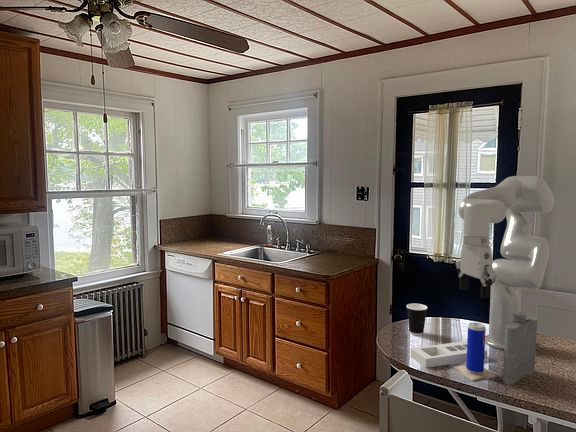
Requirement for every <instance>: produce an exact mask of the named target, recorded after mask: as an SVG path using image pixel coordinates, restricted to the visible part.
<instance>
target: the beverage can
mask: <svg viewBox="0 0 576 432" xmlns="http://www.w3.org/2000/svg"><path fill="white" fill-rule="evenodd" d="M486 331H487V328H486V326H485V324H483V323H481V322H469V323H468V326H467V340H466V341H467V362H465V365H466V368H467V370H468V371H469V372H471V373H476V374H480V373H482V372H483V371H484V368H485V359H484V356H485V349H486V343H485V336H486Z"/></svg>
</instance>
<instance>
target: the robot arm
mask: <svg viewBox="0 0 576 432" xmlns="http://www.w3.org/2000/svg"><path fill="white" fill-rule="evenodd" d="M554 207H555V196H554V193H553V192H552V189H551V188H550V186H549V184H548V183H547V181H546V180H545V179H544V178H542V177H541V176H537V175H513V176H508V177H506V178H505V179H503V180H502V181H500V183H498V184H497V185H496V186H494V187H493V186H492V187H489V188H486V189H481V190H477V191H475V192H471V193H470V194H468V195H467V196H466V197H464V198H463V199H462V201H461V202H460V204H459V207H458V214H459V217H460V219H462V221H463V235H462V236H463V238H462V239H463V240H462V242H463V243H462V245H461V252H460V260H459V261H456V262H455V266H456V272H457V274H458V278H459V290H460V291H464V290H466V291H467V290H469V288H470V277H473V278H475V279H479V281H480V282H481V284H482V285H481V286H480V298H481V299H482V300H483V299H484V300H485V299H490V301H489V303H490V304H489V305H490V306H489V323H488V324H489V325H488V334H487V335H485V345H488V346H491V347H493V348H496V349H500V350H504V347H505V326H506V325H507V324H508V323H510V322H512V321H514V316H513V314H514V313H520V312H519V310H520V309H519V308H520V297H519V295H518V293H517V290H516V289H515V288H519V289H524V290H531V291H535V290H538V289H540V288H541V286H542V283H543V280H544V277H545V273H546V269H547V266H548V265H547V264H548V262H549V257H550V250H551V249H550V244H549V241H548V240H547V239H546V238H544V237H541V236H536V235H535V236H534V235H531V233H532V229H533V226H532V223H531V222H530V220H529V219H528V217H527V216H525V214H523V213H533V214H534V213H535V214H547V213H550V212H552V210H553V208H554ZM505 218H506V228H505V231H504V234H503V237H502V241H501V244H500V250H499V252H500V255H501V256H502V257H503V258H497V259H495V260H493V252H492V251H493V250H492V247H491V246H490V241H491V240H490V228H491V227H490V226H491V224H498V223H500V222H503V221H504V219H505ZM469 276H470V277H469Z"/></svg>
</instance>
